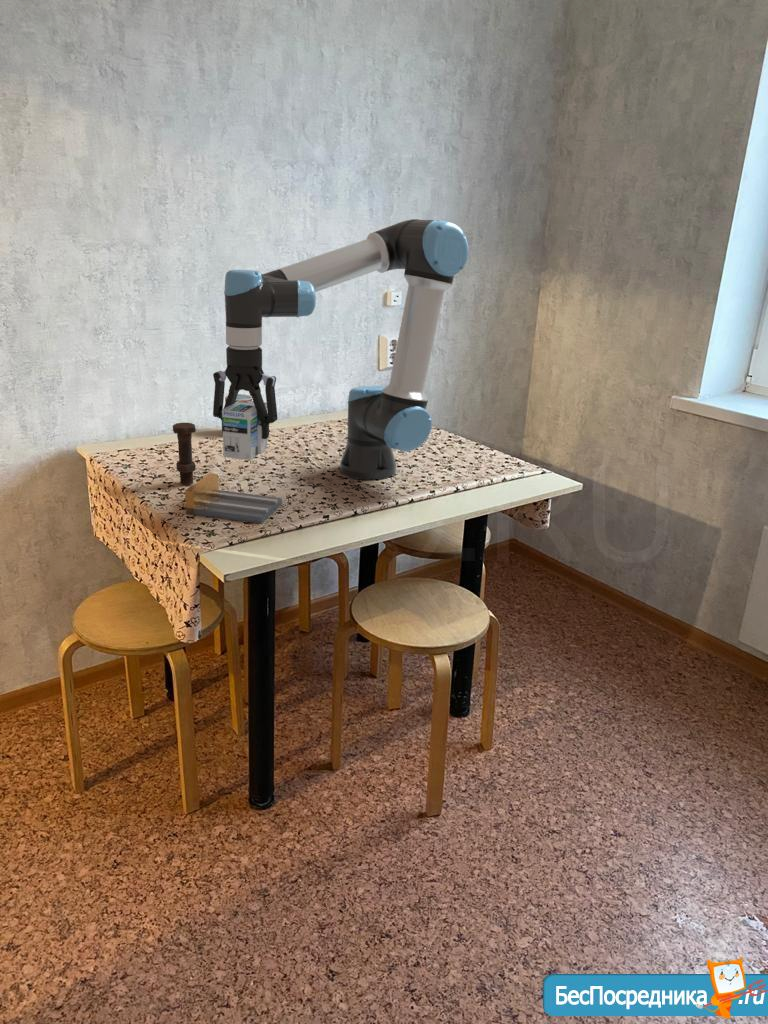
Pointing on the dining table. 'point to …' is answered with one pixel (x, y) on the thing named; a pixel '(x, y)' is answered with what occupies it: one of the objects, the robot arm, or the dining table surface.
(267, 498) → the rail plate
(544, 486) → the dining table surface
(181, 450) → the bolt
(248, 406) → the light bulb box
